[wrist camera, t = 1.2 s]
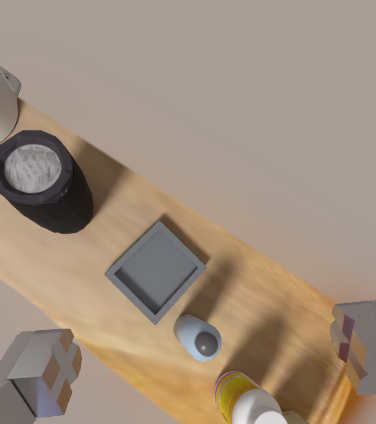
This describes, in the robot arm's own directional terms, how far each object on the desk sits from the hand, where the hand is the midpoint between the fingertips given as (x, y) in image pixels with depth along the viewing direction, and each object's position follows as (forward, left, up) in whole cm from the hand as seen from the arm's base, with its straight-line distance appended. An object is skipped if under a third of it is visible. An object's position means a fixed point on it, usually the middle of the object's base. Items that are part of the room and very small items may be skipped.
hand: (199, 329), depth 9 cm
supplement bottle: (+21, -1, -40) cm, 45 cm away
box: (0, +4, -39) cm, 40 cm away
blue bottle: (+10, +1, -39) cm, 41 cm away
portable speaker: (-18, +1, -40) cm, 43 cm away
